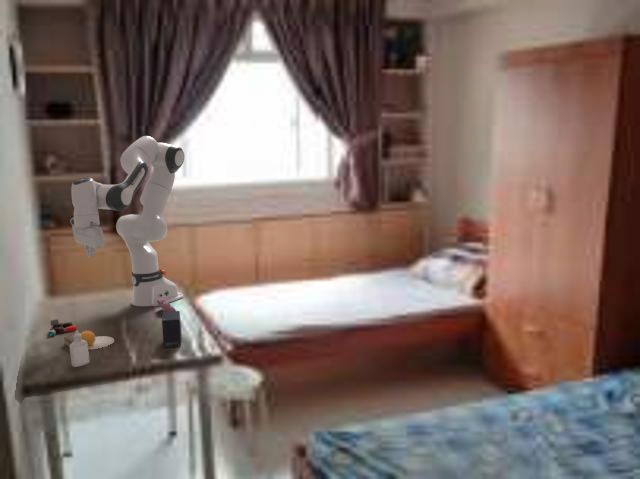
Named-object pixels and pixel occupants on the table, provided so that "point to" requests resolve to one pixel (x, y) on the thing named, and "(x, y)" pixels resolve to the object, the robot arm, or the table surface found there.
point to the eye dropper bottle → (79, 351)
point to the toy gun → (60, 327)
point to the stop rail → (68, 340)
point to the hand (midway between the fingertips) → (91, 256)
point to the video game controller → (165, 305)
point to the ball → (88, 337)
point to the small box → (171, 329)
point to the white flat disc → (101, 342)
